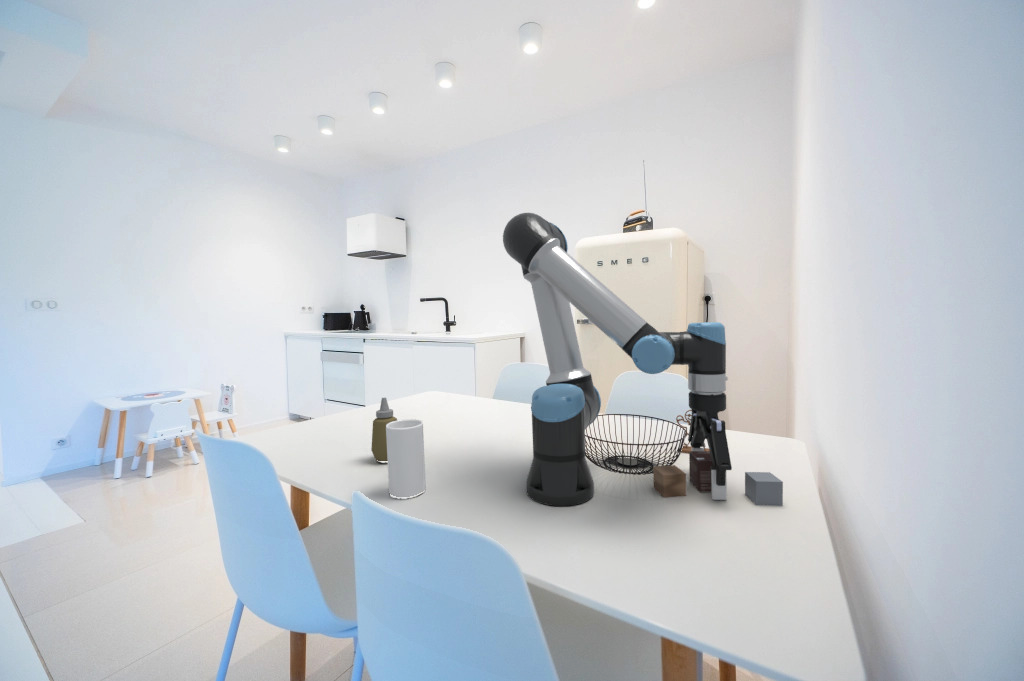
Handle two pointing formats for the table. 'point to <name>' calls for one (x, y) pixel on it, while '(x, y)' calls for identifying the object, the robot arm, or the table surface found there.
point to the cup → (405, 457)
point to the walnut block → (669, 481)
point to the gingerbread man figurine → (687, 448)
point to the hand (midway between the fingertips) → (707, 486)
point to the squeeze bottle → (381, 431)
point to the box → (700, 470)
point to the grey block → (764, 488)
